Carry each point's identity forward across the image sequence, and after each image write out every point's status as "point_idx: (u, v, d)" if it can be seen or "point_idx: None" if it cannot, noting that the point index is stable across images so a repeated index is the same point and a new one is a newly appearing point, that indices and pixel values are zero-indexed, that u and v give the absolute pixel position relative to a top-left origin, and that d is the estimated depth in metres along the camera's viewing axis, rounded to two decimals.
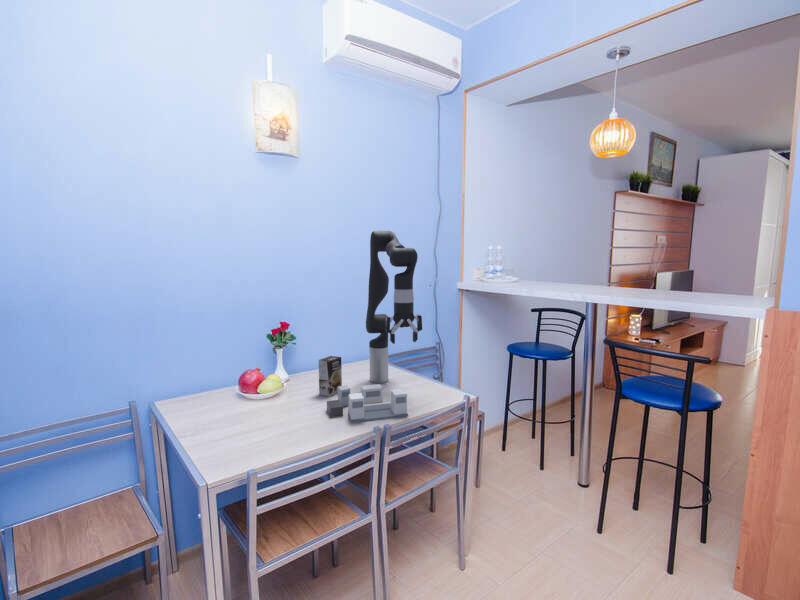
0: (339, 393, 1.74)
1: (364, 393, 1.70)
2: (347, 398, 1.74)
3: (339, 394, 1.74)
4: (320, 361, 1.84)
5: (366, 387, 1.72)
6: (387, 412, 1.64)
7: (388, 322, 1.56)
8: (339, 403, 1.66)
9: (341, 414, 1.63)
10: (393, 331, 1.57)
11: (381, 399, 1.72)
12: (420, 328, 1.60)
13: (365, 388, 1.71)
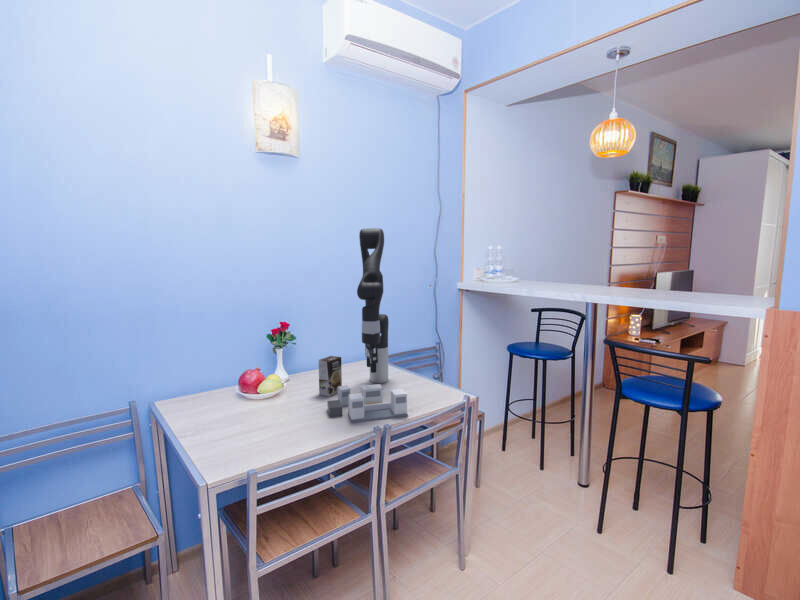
0: (340, 393, 1.74)
1: (364, 393, 1.70)
2: (347, 398, 1.74)
3: (339, 394, 1.74)
4: (320, 361, 1.84)
5: (366, 387, 1.72)
6: (387, 412, 1.64)
7: None
8: (339, 403, 1.66)
9: (340, 414, 1.63)
10: None
11: (381, 399, 1.72)
12: None
13: (365, 388, 1.71)
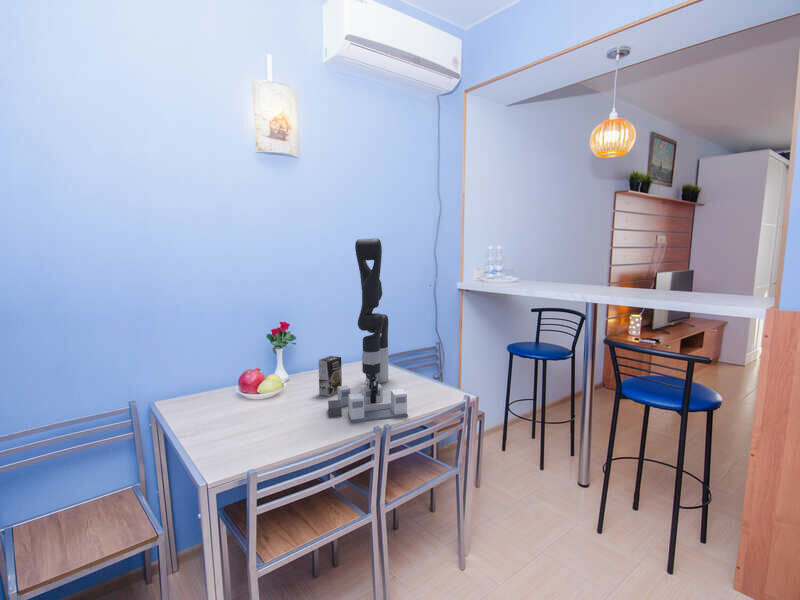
0: (340, 393, 1.74)
1: (364, 393, 1.70)
2: (347, 398, 1.74)
3: (339, 394, 1.74)
4: (320, 361, 1.84)
5: (366, 387, 1.72)
6: (387, 412, 1.64)
7: None
8: (339, 403, 1.66)
9: (340, 414, 1.62)
10: None
11: (381, 399, 1.72)
12: None
13: (365, 387, 1.71)
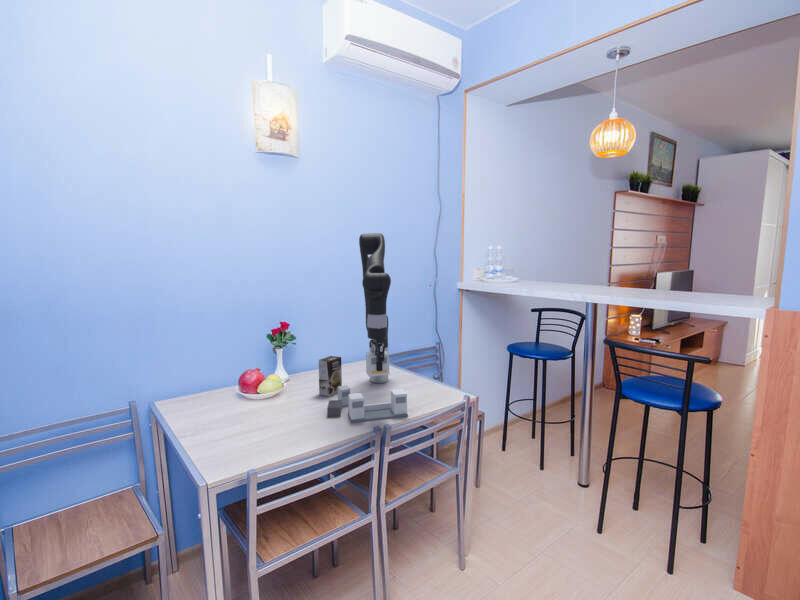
0: (340, 393, 1.74)
1: (369, 360, 1.56)
2: (347, 398, 1.74)
3: (339, 394, 1.74)
4: (320, 361, 1.84)
5: (372, 354, 1.58)
6: (387, 412, 1.64)
7: None
8: (339, 403, 1.65)
9: (338, 415, 1.62)
10: None
11: (388, 367, 1.58)
12: None
13: (371, 354, 1.57)
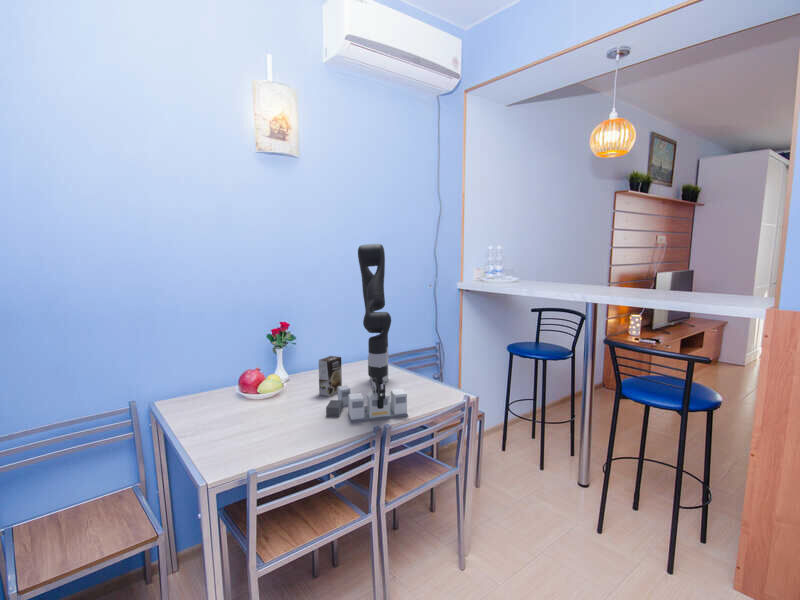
0: (339, 393, 1.74)
1: (370, 402, 1.58)
2: (347, 398, 1.74)
3: (339, 394, 1.74)
4: (320, 361, 1.84)
5: (372, 396, 1.60)
6: None
7: None
8: (339, 404, 1.65)
9: (337, 415, 1.62)
10: None
11: (388, 408, 1.60)
12: None
13: (372, 396, 1.59)
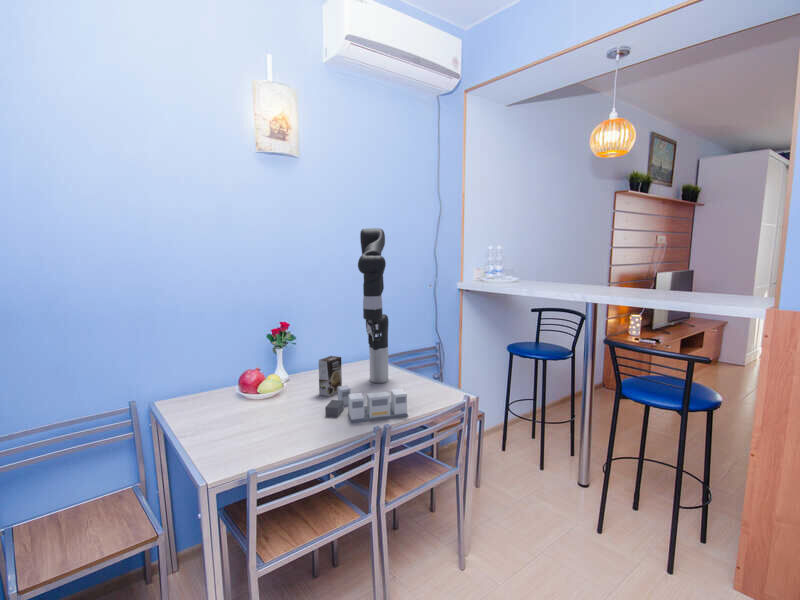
0: (340, 393, 1.74)
1: (370, 402, 1.58)
2: (347, 398, 1.74)
3: (339, 394, 1.74)
4: (320, 361, 1.84)
5: (372, 396, 1.60)
6: None
7: None
8: (338, 404, 1.65)
9: (336, 415, 1.62)
10: None
11: (388, 408, 1.60)
12: None
13: (372, 396, 1.59)
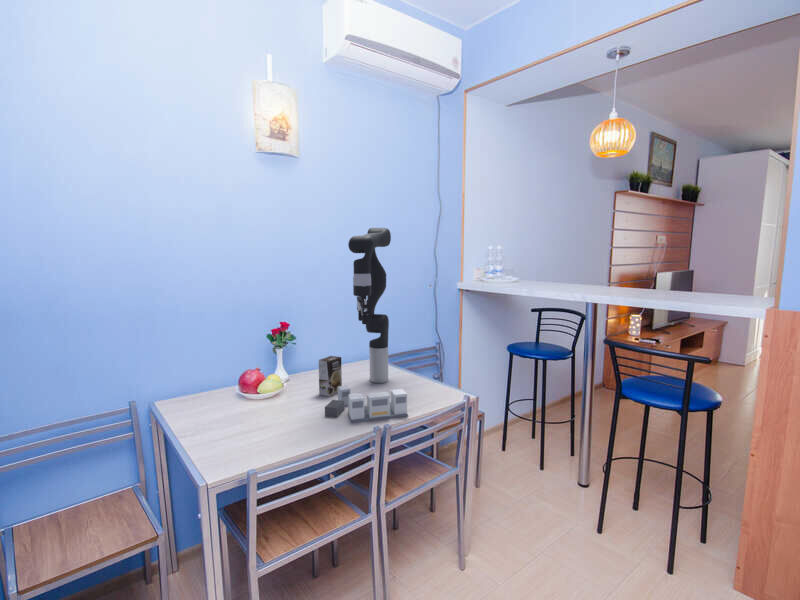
0: (340, 393, 1.74)
1: (370, 402, 1.58)
2: (347, 398, 1.74)
3: (339, 394, 1.74)
4: (320, 361, 1.84)
5: (372, 396, 1.60)
6: None
7: None
8: (338, 404, 1.65)
9: (335, 415, 1.62)
10: None
11: (388, 408, 1.60)
12: None
13: (372, 396, 1.59)
